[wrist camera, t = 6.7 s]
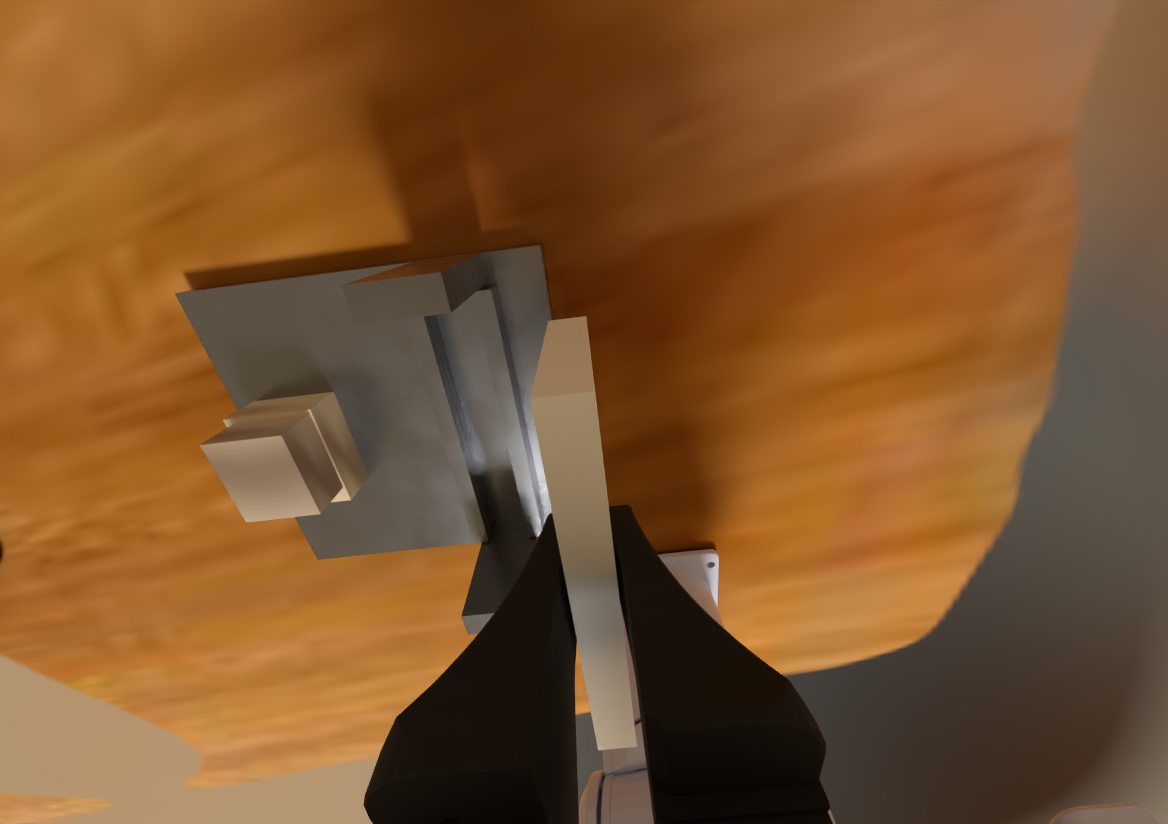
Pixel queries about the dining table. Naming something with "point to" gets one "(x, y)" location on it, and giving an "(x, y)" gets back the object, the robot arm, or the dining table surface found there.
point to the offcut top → (274, 467)
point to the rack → (408, 397)
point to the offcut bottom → (328, 427)
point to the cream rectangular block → (583, 522)
